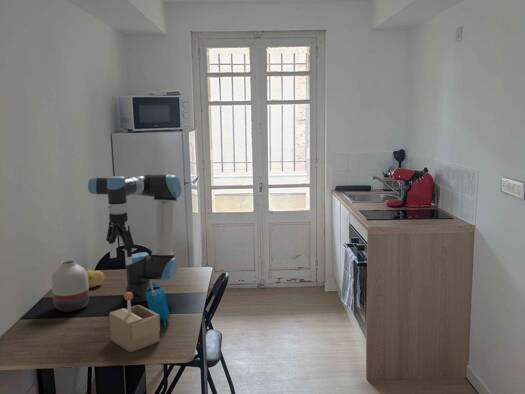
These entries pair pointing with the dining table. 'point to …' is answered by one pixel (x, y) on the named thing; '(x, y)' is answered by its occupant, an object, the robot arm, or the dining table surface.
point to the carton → (136, 330)
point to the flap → (126, 311)
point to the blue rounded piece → (157, 301)
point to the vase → (70, 287)
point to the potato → (94, 278)
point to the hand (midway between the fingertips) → (121, 260)
